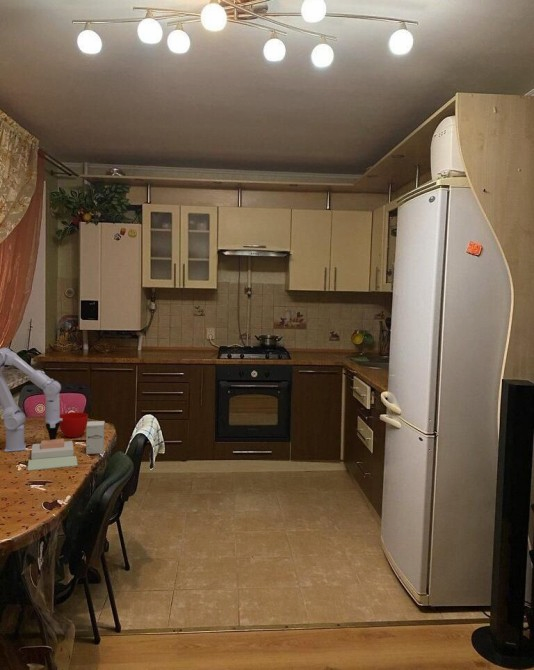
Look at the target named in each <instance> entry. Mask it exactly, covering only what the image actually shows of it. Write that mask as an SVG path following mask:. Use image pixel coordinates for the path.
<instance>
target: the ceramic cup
mask: <svg viewBox="0 0 534 670" xmlns="http://www.w3.org/2000/svg"><path fill="white" fill-rule="evenodd" d="M88 415H89V414H87V413H86V412H80V411H78V412H77V411H76V412H75V411H74V412H73V411H72V412H65V413H62V414H61V413H60V418H62V419H63V420H62V421H59V423H60V426H59V430H60V431H61V433H62V434H63V435H64V436H65V437H66V438H67V437H76V438H79V437H78V436H80V437H81V436H82V435H83V433H85V430H86V427H87V422H88V420H89V419H88V418H89V417H88Z"/></svg>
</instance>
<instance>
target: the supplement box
mask: <svg viewBox="0 0 534 670" xmlns="http://www.w3.org/2000/svg"><path fill="white" fill-rule="evenodd" d="M105 424H106V422H105V420H100V421H99V420H98V421H97V420H96V421H92V420H91V421H87V426H86V429H85V430H86V435H85V436H86V437H85V440H86V441H85V443H86V444H85V447H86V448H85V454H86V455H91V454H94V455H95V454H104V451H105V426H106V425H105Z"/></svg>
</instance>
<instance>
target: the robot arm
mask: <svg viewBox="0 0 534 670" xmlns="http://www.w3.org/2000/svg"><path fill="white" fill-rule="evenodd" d="M5 366H14V367H15V368H17V369H18V370H19V371H21V372H23V373H24V374H25V375H27V376H28V377H29V381H30V382H31V383H32V384H34V385H35V386H37V387H38V388H39V389H40V390H42V391H43V394H44V395H45V399H44V400H45V419H44V422H45V423H46V424H45V428H46V430H47V432H48V437H49V440H54V439H57V434H58V430H59V429H60V423H59V421H62V420H63V419H62V418H60V415H61V412H60V411H61V409H60V408H61V407H60V406H61V405H60V402H61V401H60V400H61V398H60V392H61V390H62V385H61V383H59V381H58V380H54V379H53V378H50V377H49V376H48V375H46V372H45V371H44V370H41V369H40V370H39V369H37V370H35V369H34V368H33V367H32V366H31V365H30V364H28V363H27V362H26V361H25V360H23V359H22V358H21V357H20V356H19V355H18V354H17V353H16V352H15V351H12V350H11V349H10V348H9V347H2V348H0V406H1V408H2V419H3V426H4V428H5V447H4V450H3V451H4V453H6V452H7V453H8V452H9V453H10V452H19V451H25V450H26V447H27V443H26V442H25V425H24V424H25V422H26V420H27V417H26V416H27V415H26V414H25V413H24V412H23V411H22V410H21V408H20V407H19V406H18V405H17V404H16V402H15V399H14V397H13V395H12V393H11V391H10V388H9V386H8V384H7V381H6V379H5V376H4V374H3V372H2V371H3V370H4V368H5Z"/></svg>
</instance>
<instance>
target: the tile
mask: <svg viewBox="0 0 534 670" xmlns="http://www.w3.org/2000/svg"><path fill="white" fill-rule="evenodd" d="M64 442H65V438H56V439H54V440H50V439H46V440H45V439H44V440H41V442H40V444H41V449H49V448H61V447H64Z"/></svg>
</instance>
